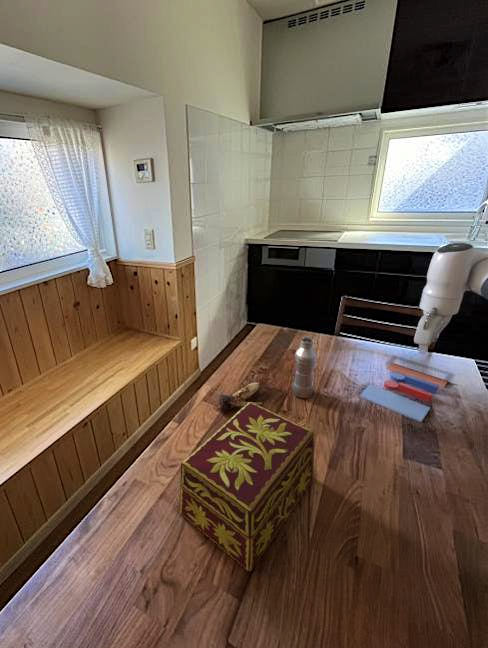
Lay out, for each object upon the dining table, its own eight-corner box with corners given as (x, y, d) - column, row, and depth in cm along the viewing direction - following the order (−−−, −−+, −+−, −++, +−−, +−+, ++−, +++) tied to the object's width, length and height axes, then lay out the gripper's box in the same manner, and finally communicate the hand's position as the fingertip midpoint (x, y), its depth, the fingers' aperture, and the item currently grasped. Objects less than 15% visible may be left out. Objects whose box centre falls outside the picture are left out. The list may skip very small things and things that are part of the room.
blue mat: (429, 409, 99) (430, 407, 99) (421, 422, 94) (421, 421, 94) (369, 385, 111) (370, 384, 111) (359, 396, 106) (359, 395, 106)
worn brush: (233, 425, 99) (273, 398, 108) (233, 413, 97) (274, 386, 106) (212, 408, 105) (252, 384, 115) (212, 397, 103) (252, 373, 113)
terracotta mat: (450, 377, 112) (451, 376, 112) (443, 388, 107) (444, 386, 107) (394, 359, 124) (395, 358, 124) (386, 368, 119) (386, 367, 119)
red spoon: (432, 398, 103) (434, 392, 102) (428, 404, 101) (429, 398, 100) (386, 381, 112) (388, 375, 111) (381, 386, 110) (383, 380, 109)
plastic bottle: (292, 399, 107) (296, 344, 99) (291, 387, 113) (295, 334, 104) (313, 402, 105) (320, 346, 97) (311, 389, 111) (317, 335, 103)
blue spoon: (438, 389, 107) (439, 383, 106) (434, 395, 104) (436, 389, 103) (393, 374, 116) (394, 368, 115) (389, 379, 114) (390, 373, 113)
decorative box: (250, 574, 62) (251, 521, 56) (178, 513, 74) (173, 463, 68) (314, 478, 80) (320, 429, 74) (248, 441, 92) (249, 396, 86)
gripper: (442, 318, 84) (428, 365, 89) (463, 296, 96) (450, 338, 102) (413, 311, 88) (402, 357, 94) (437, 291, 100) (426, 332, 106)
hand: (427, 347), depth 98 cm, fingers open, 8 cm apart
